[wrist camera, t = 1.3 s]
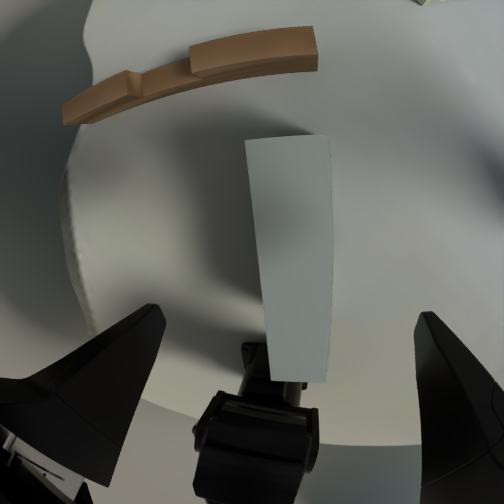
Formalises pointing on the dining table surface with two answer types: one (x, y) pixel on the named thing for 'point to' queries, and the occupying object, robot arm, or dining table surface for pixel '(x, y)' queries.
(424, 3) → the light bulb box
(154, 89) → the slotted walnut board
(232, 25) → the dining table surface
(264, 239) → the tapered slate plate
